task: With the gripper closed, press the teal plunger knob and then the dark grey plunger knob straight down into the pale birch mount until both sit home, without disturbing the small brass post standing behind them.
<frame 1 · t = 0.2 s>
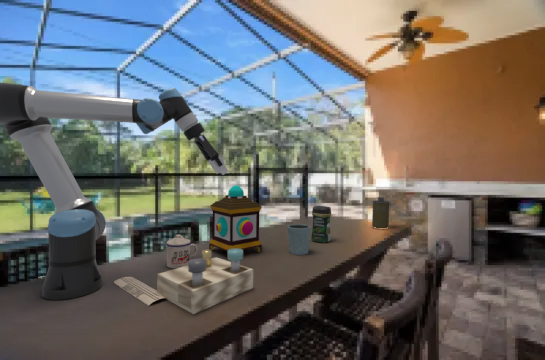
hand: (222, 172, 116), 36 cm above the table, tool tilted 35°, fingers open, 13 cm apart
brass post: (206, 266, 93), point 6 cm above the table, touching mount
teacup with lid: (182, 264, 112), on the table
canister: (380, 228, 189), on the table
decorative lantern: (235, 251, 131), on the table
blue cup: (298, 252, 131), on the table
teal knob: (235, 260, 90), point 9 cm above the table, slide at 0.0 cm
mount: (206, 290, 88), on the table
coffee jar: (320, 241, 152), on the table
grey knob: (197, 272, 79), point 9 cm above the table, slide at 0.0 cm
newspaper: (137, 294, 87), on the table
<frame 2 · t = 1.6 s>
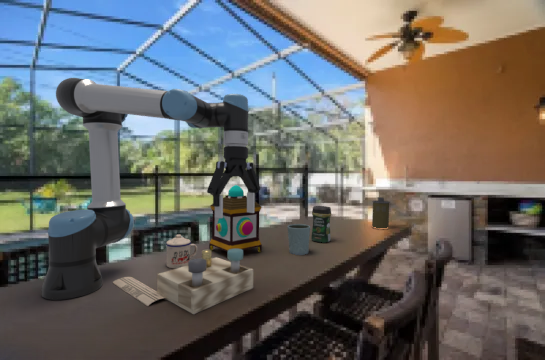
hand: (235, 215, 90), 23 cm above the table, tool pointing down, fingers open, 13 cm apart
nothing on the table moved.
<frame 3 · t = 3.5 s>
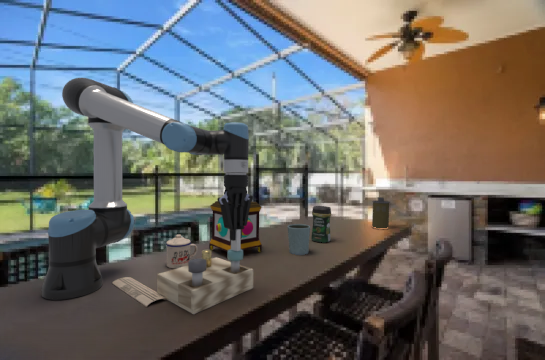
hand: (235, 250, 90), 12 cm above the table, tool pointing down, fingers closed
teal knob: (235, 261, 90), point 9 cm above the table, slide at 0.1 cm, touching gripper
everything else where it was.
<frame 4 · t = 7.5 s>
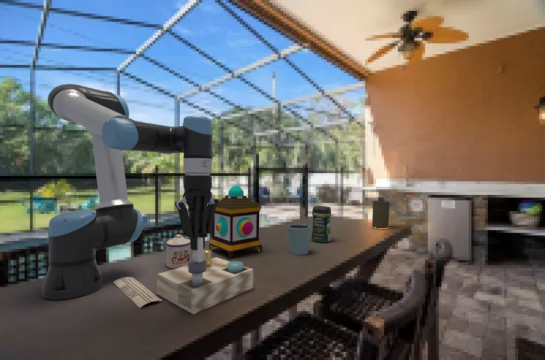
hand: (197, 260, 79), 12 cm above the table, tool pointing down, fingers closed
teal knob: (235, 273, 90), point 5 cm above the table, slide at 4.0 cm
grey knob: (197, 273, 79), point 9 cm above the table, slide at 0.2 cm, touching gripper
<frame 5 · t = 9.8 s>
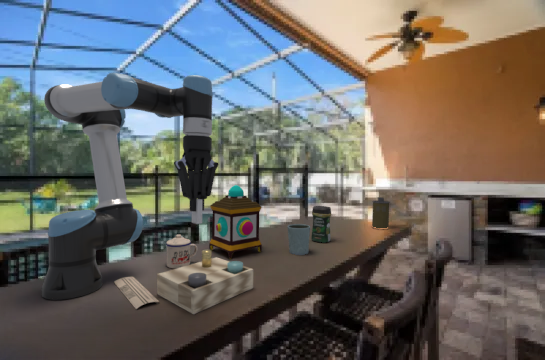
hand: (196, 222, 79), 22 cm above the table, tool pointing down, fingers closed
grey knob: (197, 287, 79), point 5 cm above the table, slide at 4.0 cm
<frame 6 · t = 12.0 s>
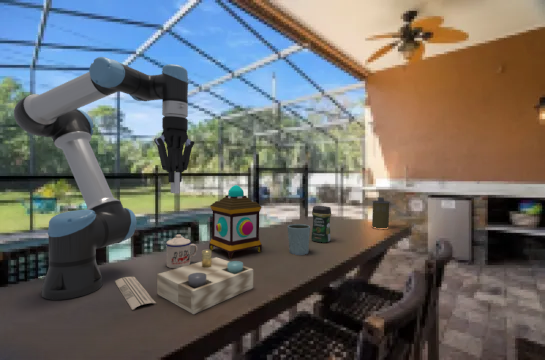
hand: (175, 192, 91), 29 cm above the table, tool pointing down, fingers closed
at the end: teal knob slide at 4.0 cm; grey knob slide at 4.0 cm; brass post moved 0.0 cm from its start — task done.
